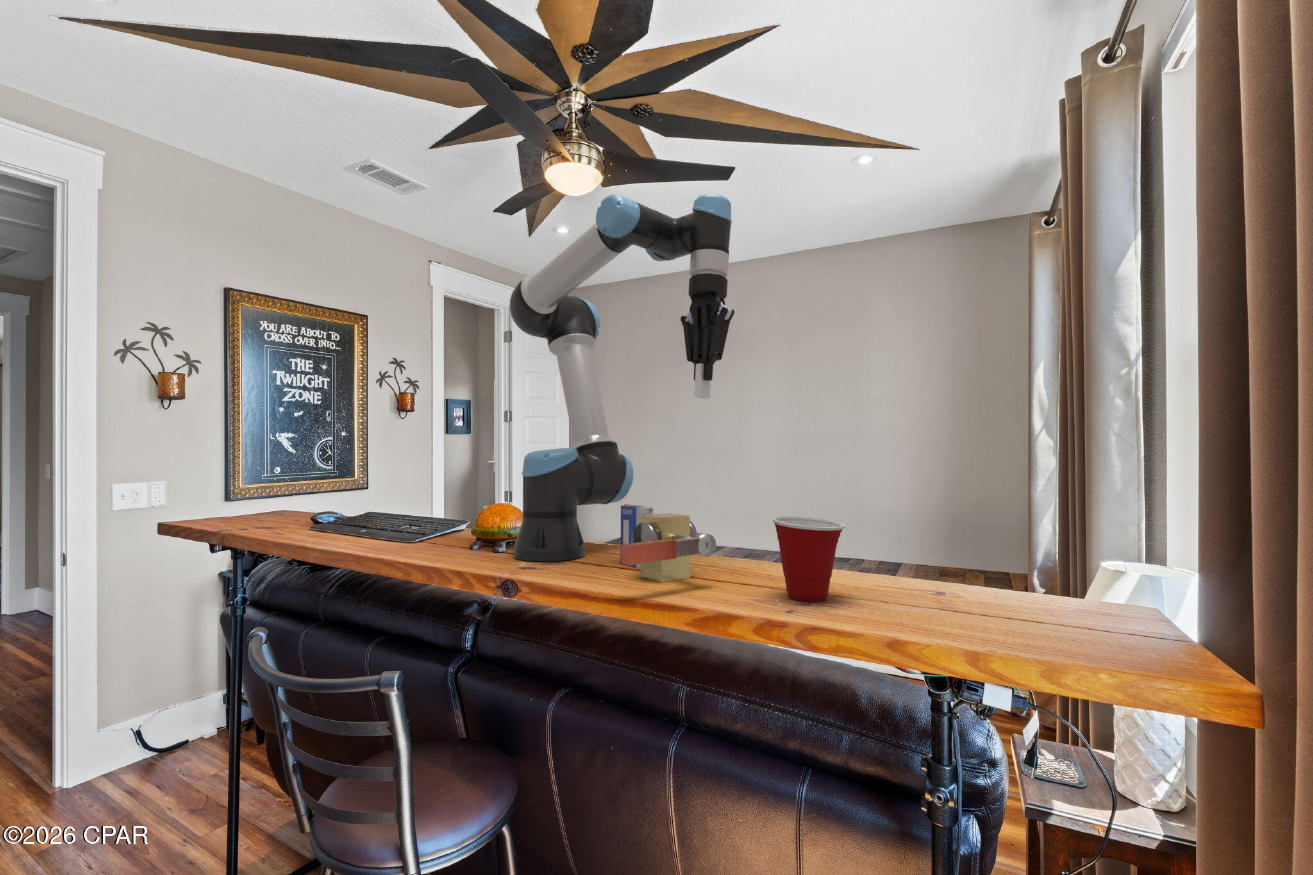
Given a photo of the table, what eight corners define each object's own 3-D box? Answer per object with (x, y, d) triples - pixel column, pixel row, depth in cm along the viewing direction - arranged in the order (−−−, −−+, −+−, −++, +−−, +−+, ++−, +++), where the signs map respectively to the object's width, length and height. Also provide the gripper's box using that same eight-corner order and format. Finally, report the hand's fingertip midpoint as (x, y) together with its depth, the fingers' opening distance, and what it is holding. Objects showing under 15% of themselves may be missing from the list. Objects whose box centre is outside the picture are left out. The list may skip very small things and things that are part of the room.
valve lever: (706, 553, 97) (620, 565, 87) (706, 531, 97) (620, 541, 87) (716, 555, 95) (629, 568, 85) (715, 533, 95) (629, 543, 85)
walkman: (620, 563, 117) (620, 503, 117) (631, 561, 119) (632, 503, 119) (641, 569, 111) (641, 506, 111) (653, 567, 112) (653, 505, 113)
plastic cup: (825, 611, 80) (824, 524, 81) (758, 598, 87) (758, 518, 88) (858, 597, 88) (857, 518, 89) (794, 587, 95) (794, 514, 96)
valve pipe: (633, 578, 102) (633, 515, 103) (676, 571, 108) (676, 512, 109) (673, 589, 93) (673, 521, 94) (717, 581, 99) (717, 517, 100)
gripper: (746, 275, 110) (739, 398, 110) (699, 287, 120) (693, 400, 120) (718, 265, 106) (711, 394, 105) (672, 279, 116) (665, 397, 115)
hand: (701, 397), depth 113 cm, fingers closed
